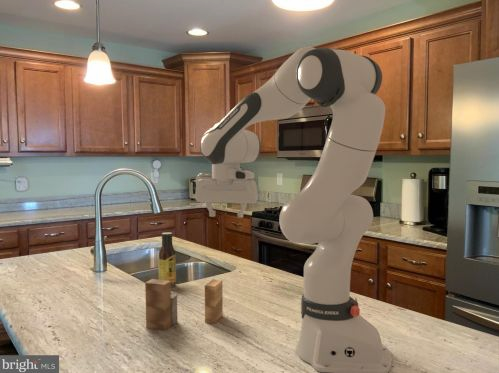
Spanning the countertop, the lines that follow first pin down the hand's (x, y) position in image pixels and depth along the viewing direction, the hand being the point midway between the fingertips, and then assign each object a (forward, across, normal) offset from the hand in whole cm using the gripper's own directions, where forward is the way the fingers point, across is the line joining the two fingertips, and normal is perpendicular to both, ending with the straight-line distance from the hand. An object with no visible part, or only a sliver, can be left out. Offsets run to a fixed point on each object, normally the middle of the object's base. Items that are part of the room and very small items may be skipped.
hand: (226, 216), depth 127 cm
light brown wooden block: (+29, 0, -10) cm, 31 cm away
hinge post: (+29, -13, -19) cm, 37 cm away
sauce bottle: (+29, -28, +13) cm, 42 cm away
